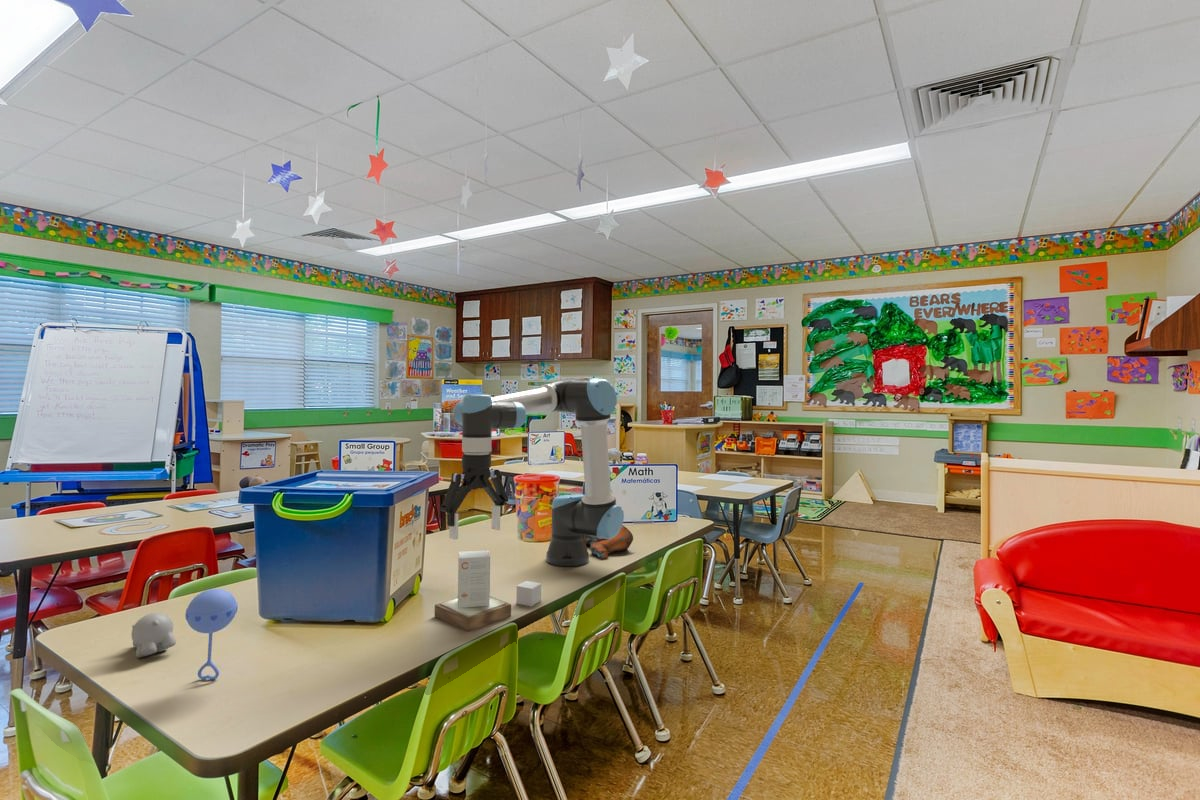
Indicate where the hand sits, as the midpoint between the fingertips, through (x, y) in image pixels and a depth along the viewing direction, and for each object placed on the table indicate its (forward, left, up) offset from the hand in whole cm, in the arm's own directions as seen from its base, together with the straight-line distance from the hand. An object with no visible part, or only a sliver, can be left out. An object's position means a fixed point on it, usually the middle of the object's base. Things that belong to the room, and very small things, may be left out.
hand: (475, 533), depth 150 cm
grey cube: (-17, +3, -22) cm, 28 cm away
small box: (0, 0, -18) cm, 18 cm away
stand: (0, 0, -22) cm, 22 cm away
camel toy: (-73, -20, -22) cm, 79 cm away
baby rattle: (+56, -11, -22) cm, 61 cm away
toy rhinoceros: (+61, -34, -22) cm, 74 cm away
